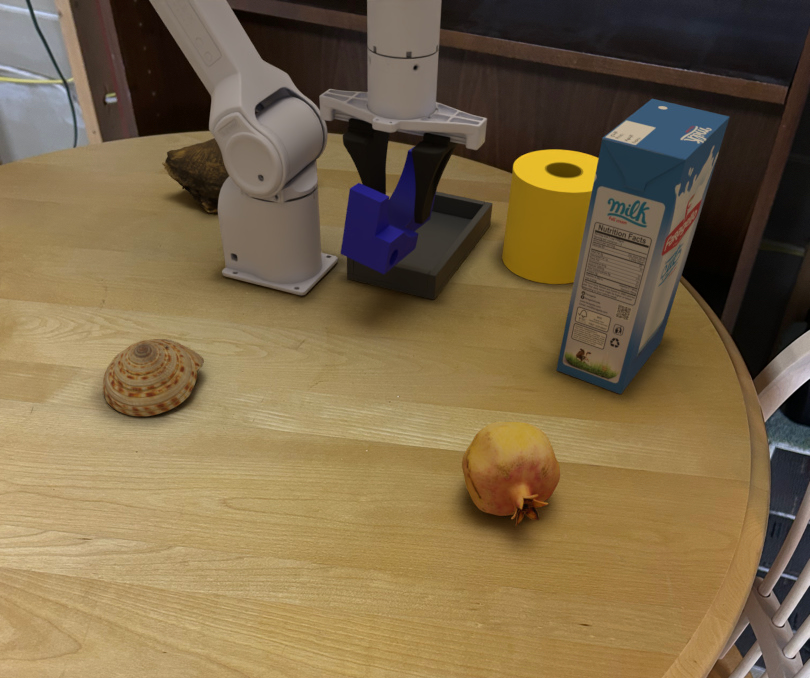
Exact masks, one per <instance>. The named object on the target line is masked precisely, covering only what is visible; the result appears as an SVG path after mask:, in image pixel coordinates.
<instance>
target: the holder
mask: <svg viewBox="0 0 810 678" xmlns="http://www.w3.org/2000/svg"><path fill="white" fill-rule="evenodd" d="M492 213H493V202H491V201H489V202H488V201H485V200H478V199H476V198H470V197H465V196H460V195H456V194H450V193H446V192H440V191H438V190H436V195H435V199H434V204H433V208H432V213H431V217H430V220H428V221H427V222H426V223H425V224H423V225H422V226H421V227H420V228H418V229H417V230H416V231H415V232H416V233H418V239H417V243H416V248H415V249H414V250H413V251H412V252H411V253H409V254H408V255H407V256H406V257H405V258H403V259H402V260H401V261H400V262H399V263H397V264H396V265H395V266H394V267H393V268H391V269H390V270H389V271H388V272H387V273H385V274H382V273H380V272H378V271H376V270H374V269H372V268H369V267H367V266H365V265H363V264H361V263H359V262H357V261H355V260H353V259H350V258H348V257H346V279H347V280H350V281H351V280H352V281H355V282H358V283H363V284H367V285H372V286H376V287H379V288H383V289H388V290H391V291H396V292H399V293H404V294H407V295H408V294H409V295H412V296H417V297H419V298H424V299H428V300H433V301H435V300H436V298H437V297H438V295H439V294H440V293H441V292H442V290H443V289H444V288H445V287H446V286H447V283H448V282H449V281H450V280H451V278H452V277H453V275H455V273H456V272H457V270H458V269H459V268H460V266H461V265H462V264H463V263H464V261H465V259H466V258H467V257H468V256H469V255H470V253H471V252H472V251H473V250H474V248H475V246H476V245H477V244H478V242H479V241H480V240H481V238H482V237H483V236H484V234H486V232H487V231H488V229H489V228H490V226H491V222H492Z"/></svg>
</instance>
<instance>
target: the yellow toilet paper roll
mask: <svg viewBox="0 0 810 678" xmlns="http://www.w3.org/2000/svg"><path fill="white" fill-rule="evenodd" d="M598 159H599V157H597V156H594V155H592V154H588V153H584V152H580V151H576V150H569V149H540V150H535V151H529V152H528V153H525V154H523V155H520V156H519V157H518V158H517V159H515V160H514V162H513V164H512V173H511V179H510V180H511V181H510V187H509V195H508V197H509V198H508V205H507V214H506V221H505V229H504V230H505V231H504V238H503V245H502V255H501V258H502V262H503V264H504V266H505V267H506V268H507V269H508V270H509V271H510V272H512V273H513V274H515V275H517V276H518V277H520V278H523V279H525V280H529V281H532V282H534V283H535V282H536V283H541V284H549V285H566V284H574V279H575V274H576V269H577V264H578V259H579V254H580V249H581V244H582V239H583V234H584V229H585V224H586V219H587V214H588V209H589V204H590V199H591V194H592V189H593V184H594V179H595V174H596V169H597V164H598Z"/></svg>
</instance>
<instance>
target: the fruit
mask: <svg viewBox="0 0 810 678" xmlns="http://www.w3.org/2000/svg"><path fill="white" fill-rule="evenodd" d="M463 453H464V454H463V456H462V460H461V469H462V473H463V478H464V483H465V487H466V490H467V491H468V494H469V496H470V499H471V501H472V502H473V504H474V505H475V506H476V507H477V508H478V510H479V511H481V512H482V513H483V512H484V513H486V514H490V515H493V516H494V515H495V516H499V517H504V516H511V518H510V519H511V520H513V519H514V520H515V524H514V525H515V526H514V527H518V525H520V523H521V522H522V520H523V519H524V516H526V517H527V518H529V519H531V520H532V521H539V520H540V516H539V515H540V514H539V511H538V508H542V507H545V506H547V505H549V503H548V502H547V500H549V498H550V497H551V496H552V495H553V493H554V491H555V490H556V488H557V487H558V485H559V482H560V480H561V468H560V464H559V461H558V459H557V457H556V454H555V450H554V448H553V446H552V444H551V442H550V439H549V437H548V435H547V434H546V433H545V432H544V431H543V430H542V429H541V428H539V427H538V426H535V425H533V424H530V423H527V422H521V421H495V422H491V423H489V424H487V425H485V426H484V427H483V428H481V429H480V430H479V431H478V432H477V433H476V434H475V435H474V437H473V439H472V441H471V442H470V444H469V445H468V446H467V448H466V450H465V452H463Z"/></svg>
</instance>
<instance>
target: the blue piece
mask: <svg viewBox="0 0 810 678" xmlns="http://www.w3.org/2000/svg"><path fill="white" fill-rule="evenodd" d="M415 146H416V145H414V146H413V147H412V148H410V149H408V150H407V153H406V157H405V162H404V166H403V168H402V172H401V174H400V176H399V178H398V182H397V184H396V185H395V188H394V190H393V192H392V194H391V195H387V194H386V195H385V194H383V193H380V192H378V191H376V190H374V189H372V188H369V187H367V186H365V185H363V184H362V182H357V183H356V184H355V185H353V186H351V187H350V188H349V191H348V198H347V206H346V212H345V219H344V227H343V234H342V240H341V247H340V255H342V256H344V257H346V258H347V257H348V258H350V259H353V260H355V261H357V262H359V263H361V264H363V265H365V266H367V267H369V268H372V269H374V270H376V271H378V272H380V273H382V274H385V273H387V272H388V271H389V270H390V269H391V268H393V267H394V266H395V265H396V264H397V263H399V262H400V261H401V260H402V259H403V258H405V257H406V256H407V255H408V254H409V253H411V252H412V251H413V250H414V249H415V248H416V243H417V239H418V233H416V232H415V231H416V230H417V229H418V228H420V227H421V226H422V225H423V224H425V223H426V222H427V221H428V220H430V217H431V213H432V208H433V204H434V199H435V196H434V199H433V203H432V207H431V212H430V216H429V217H428V218H427V219H426V221H425V222H424V223H423V224H418V223H415V220H414V206H415V189H416V188H415V172H414V164H413V158H412V149H413V148H414V147H415ZM437 189H438V188H437ZM437 189H436V191H438V190H437ZM435 195H436V192H435Z"/></svg>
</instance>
